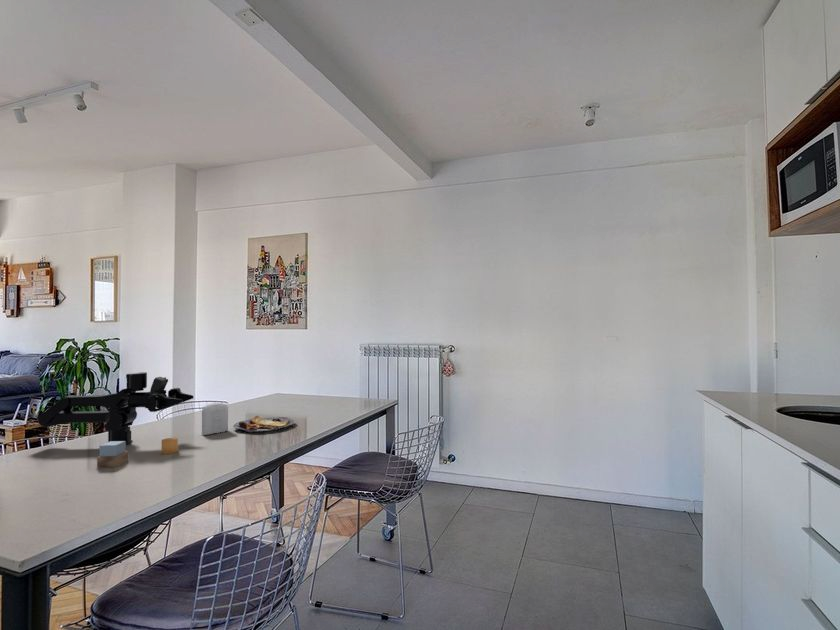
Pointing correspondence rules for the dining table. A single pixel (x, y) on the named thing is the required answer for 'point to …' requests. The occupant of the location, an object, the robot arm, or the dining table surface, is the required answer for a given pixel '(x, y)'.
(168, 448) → the orange cylinder
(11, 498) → the dining table surface
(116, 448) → the slate top block
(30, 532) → the dining table surface
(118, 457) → the walnut base block
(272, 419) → the food plate
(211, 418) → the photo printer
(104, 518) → the dining table surface
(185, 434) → the dining table surface
